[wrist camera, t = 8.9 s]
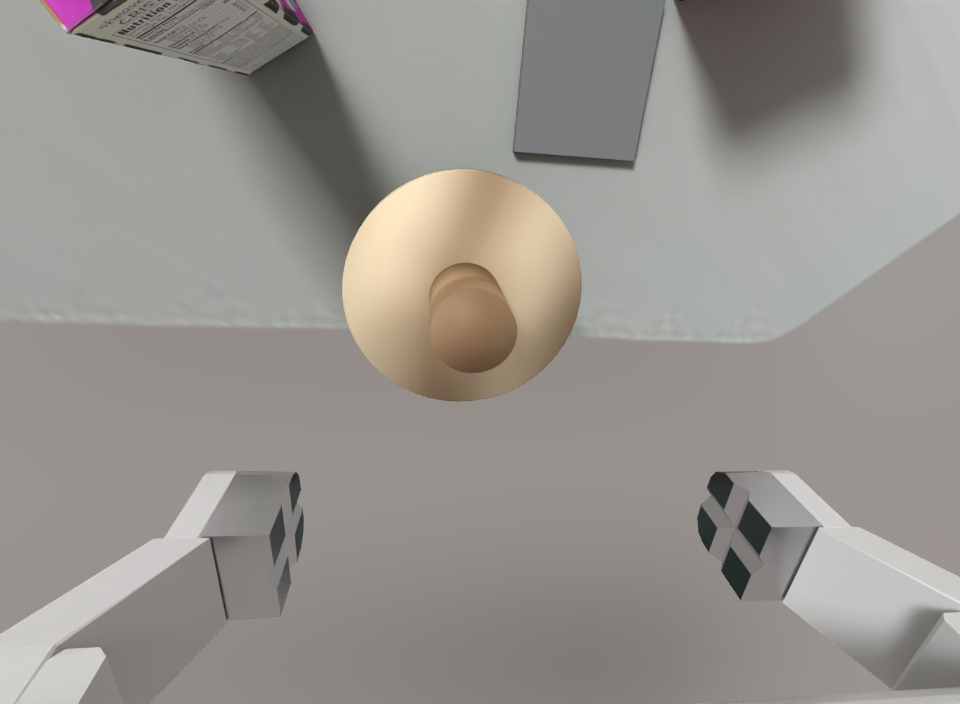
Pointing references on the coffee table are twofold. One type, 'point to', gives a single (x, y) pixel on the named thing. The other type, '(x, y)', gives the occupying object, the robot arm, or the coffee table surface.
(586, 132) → the rubber mat
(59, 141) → the coffee table surface
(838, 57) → the coffee table surface
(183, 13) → the candy bar box
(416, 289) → the beech lid
